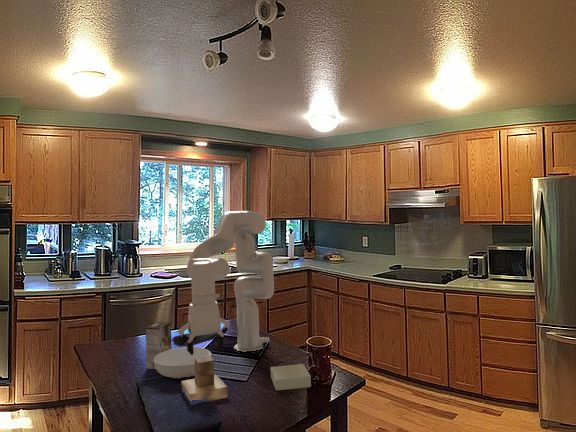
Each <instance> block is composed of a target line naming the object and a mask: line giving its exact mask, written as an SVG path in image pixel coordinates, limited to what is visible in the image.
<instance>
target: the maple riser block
mask: <svg viewBox="0 0 576 432" xmlns="http://www.w3.org/2000/svg"><path fill="white" fill-rule="evenodd" d="M180 382H181V383H180V387H181V386H182V388H183V390H184V391H185V393H186V395H187V396H188V398H189V400H190V401H192V400H202V399H207V400H209V402H213V401H217V400H221V399H227V398H228V386H227V385H226V384H225V383H224V381H223V380H222V379H221V378H220V377H219V376H218V375H217V374H216V373H214V385H210V386H206V387H201V388H199V387H198V386H197V384H196V383H195V378H192V379H191V378H190V379H185V380H181V381H180Z"/></svg>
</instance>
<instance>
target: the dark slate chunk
mask: <svg viewBox="0 0 576 432" xmlns="http://www.w3.org/2000/svg"><path fill="white" fill-rule="evenodd" d="M189 333H190V332H188V333H184V334H185V335H186V336H188V334H189ZM217 335H218V333H217V332H216V333H211V334H205V335H200V336H195V337H194V339H193V340H192V342H193V345H195V344H199V343H200V344H201V343H202V342H205V341H209V340H212V339H214V338H217ZM171 342H172V343H174V344H176V345H178V346H182V347H184V346H185V347H187V341H186V340H184V339H183V338H182V337H181V335H180V334H179V335H175V336H173V338H171Z"/></svg>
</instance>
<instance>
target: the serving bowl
mask: <svg viewBox="0 0 576 432" xmlns="http://www.w3.org/2000/svg"><path fill="white" fill-rule="evenodd" d="M205 356H210V357H211V358H212V352H211V351H210V350H208V349H206V348H204V347H197V346H193V355H191V354H190V353H189V352H188V351H187V346H185V347H184V346H182V347H176V348H172V349H170V350H166V351H163V352H161V353H159V354H157V355H156V356H155V357H154V359H153V360H154V365H155V368H156V369H155V370H156V371H157V372H158V373H159V374H160V375H162V376H164V377H167V378H170V377H171V378H170V379H182V378H181V377H187V378H192V377H195V358H199V357H205Z"/></svg>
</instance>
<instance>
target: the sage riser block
mask: <svg viewBox="0 0 576 432" xmlns="http://www.w3.org/2000/svg"><path fill="white" fill-rule="evenodd" d="M311 377H312V376H311V374H310V373H309V371H308V370H307V368H306V367H305V365H304V363H298V364H290V365H289V364H288V365H277V366H270V378H271V381H272V384H273V386H274V388H275V389H274V390H275V391H283V390H293V389H302V388H311V387H312V384H311V383H312V381H311V379H312V378H311Z"/></svg>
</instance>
